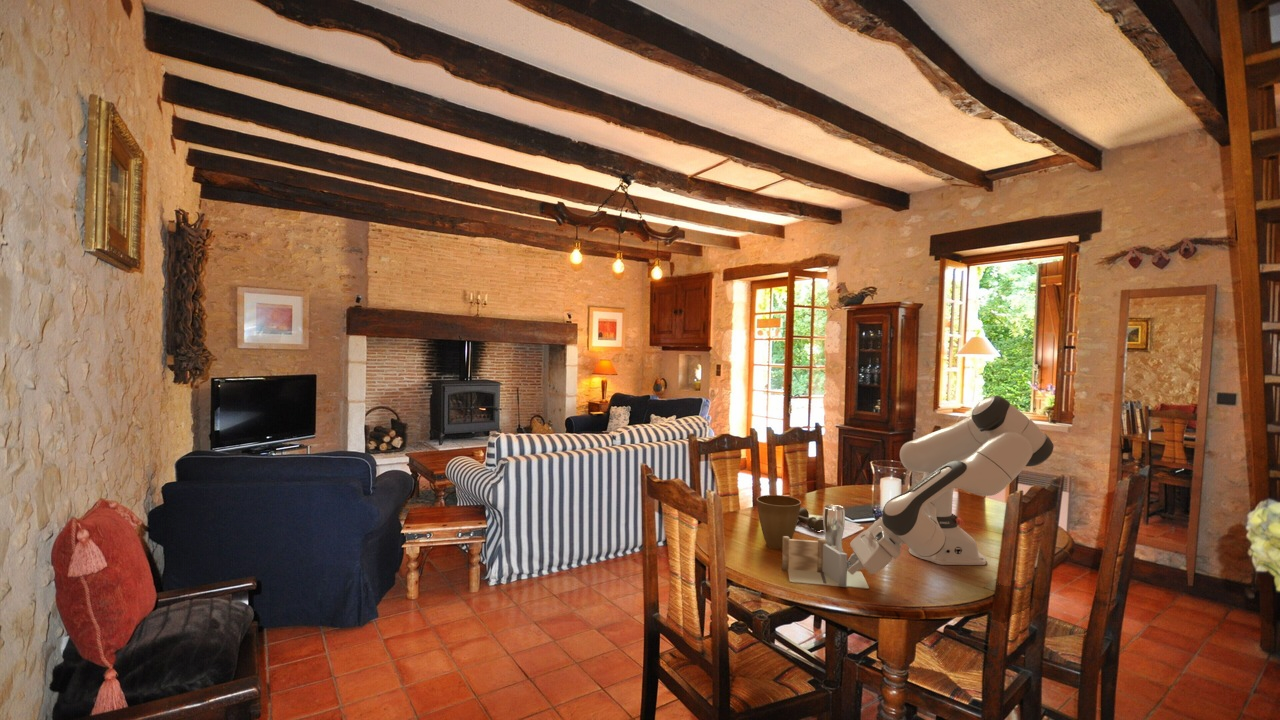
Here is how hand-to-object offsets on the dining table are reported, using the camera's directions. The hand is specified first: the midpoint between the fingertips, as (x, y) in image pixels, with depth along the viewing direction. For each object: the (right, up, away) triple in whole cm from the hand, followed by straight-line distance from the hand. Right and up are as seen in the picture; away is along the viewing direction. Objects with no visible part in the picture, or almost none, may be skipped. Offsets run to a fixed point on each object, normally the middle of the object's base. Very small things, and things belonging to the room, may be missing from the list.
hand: (847, 569), depth 169 cm
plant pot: (-12, -4, +33) cm, 35 cm away
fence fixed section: (-10, -4, +11) cm, 15 cm away
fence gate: (-3, -4, +3) cm, 6 cm away
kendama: (+2, -4, +57) cm, 57 cm away
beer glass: (+5, -4, +28) cm, 28 cm away
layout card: (-4, -5, +6) cm, 9 cm away
